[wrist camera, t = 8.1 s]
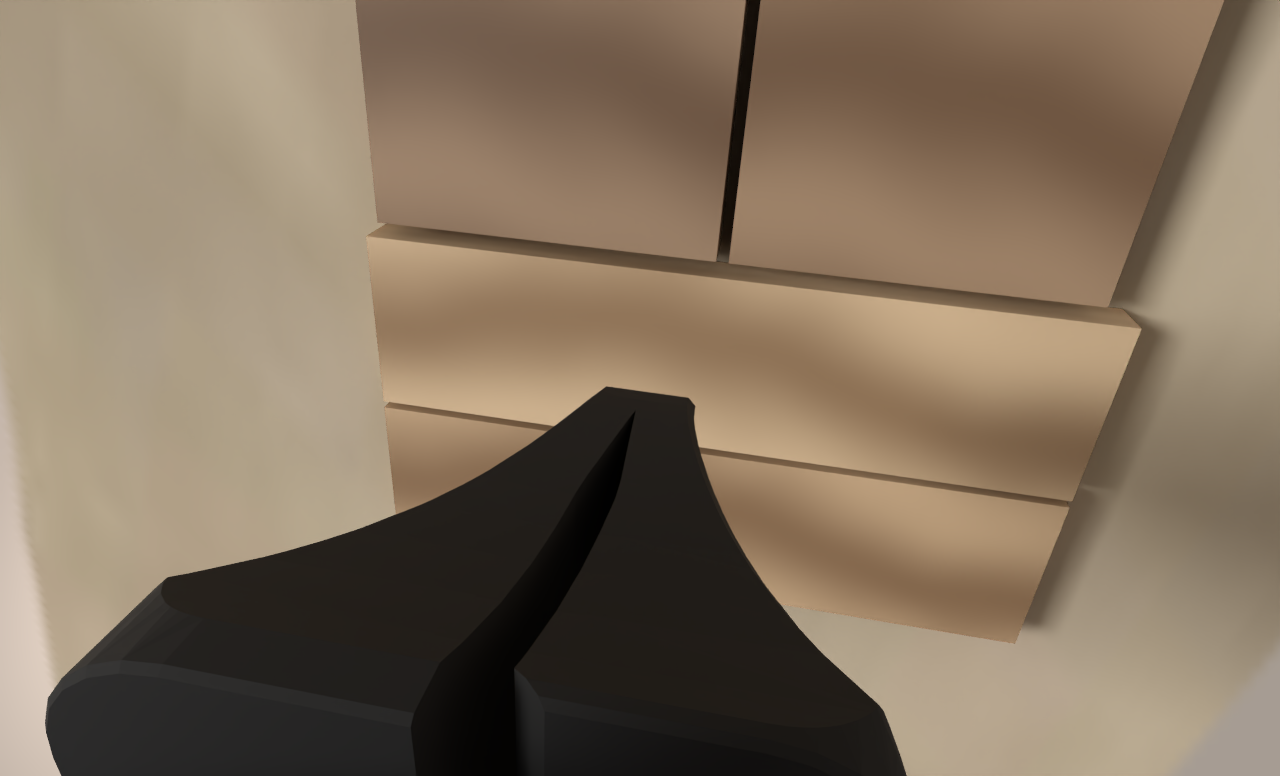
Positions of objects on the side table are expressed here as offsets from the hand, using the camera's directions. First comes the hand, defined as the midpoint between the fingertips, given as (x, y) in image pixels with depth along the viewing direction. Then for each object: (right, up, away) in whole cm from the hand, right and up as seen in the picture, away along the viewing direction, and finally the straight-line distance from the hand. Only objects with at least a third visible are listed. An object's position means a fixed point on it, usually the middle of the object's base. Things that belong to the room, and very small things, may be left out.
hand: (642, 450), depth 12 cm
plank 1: (-2, +8, +7) cm, 11 cm away
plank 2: (+7, +7, +6) cm, 11 cm away
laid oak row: (+2, 0, +11) cm, 11 cm away
